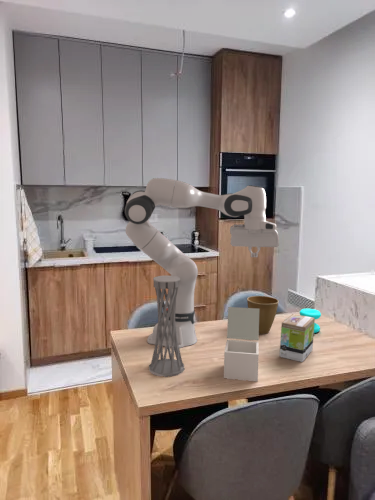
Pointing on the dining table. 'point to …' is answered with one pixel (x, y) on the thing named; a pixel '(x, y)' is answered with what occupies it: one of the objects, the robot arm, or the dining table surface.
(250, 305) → the plant pot
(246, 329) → the lid flap
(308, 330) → the tea box
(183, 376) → the dining table surface
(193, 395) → the dining table surface
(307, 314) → the cyan rounded piece
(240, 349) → the carton
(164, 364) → the grey lattice tower
